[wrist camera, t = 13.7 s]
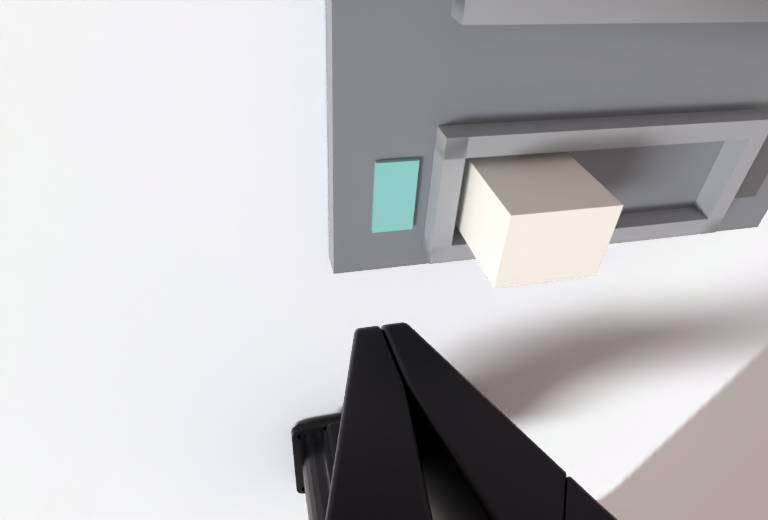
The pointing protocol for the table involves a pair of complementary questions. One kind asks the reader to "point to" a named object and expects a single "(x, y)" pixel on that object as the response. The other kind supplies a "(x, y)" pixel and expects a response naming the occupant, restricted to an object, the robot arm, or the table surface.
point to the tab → (535, 217)
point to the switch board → (541, 113)
